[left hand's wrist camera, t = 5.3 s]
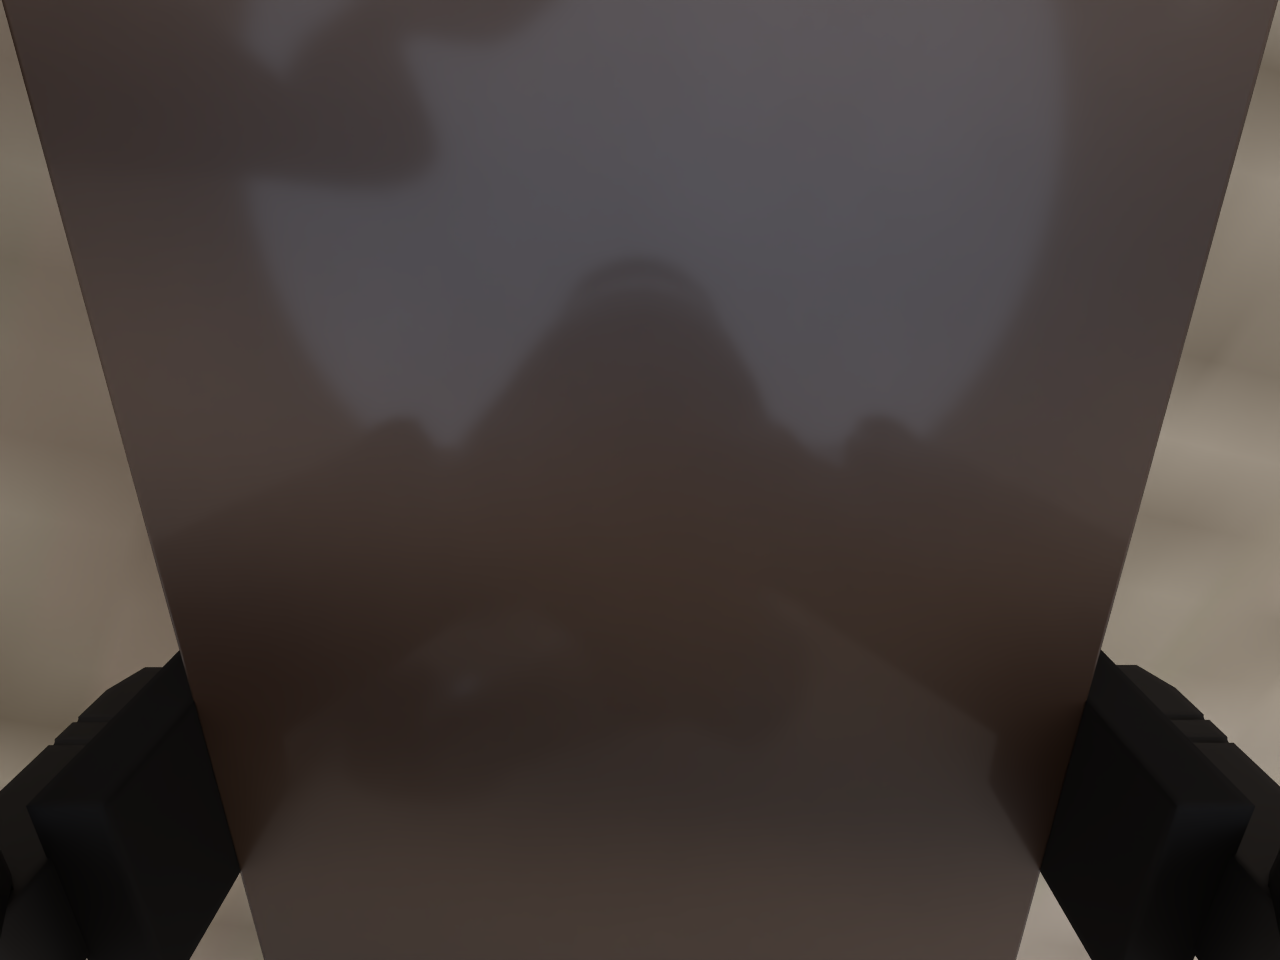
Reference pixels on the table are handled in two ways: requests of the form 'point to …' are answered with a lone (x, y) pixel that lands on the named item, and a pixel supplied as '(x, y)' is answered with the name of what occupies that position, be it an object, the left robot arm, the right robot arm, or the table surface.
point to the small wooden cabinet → (640, 438)
